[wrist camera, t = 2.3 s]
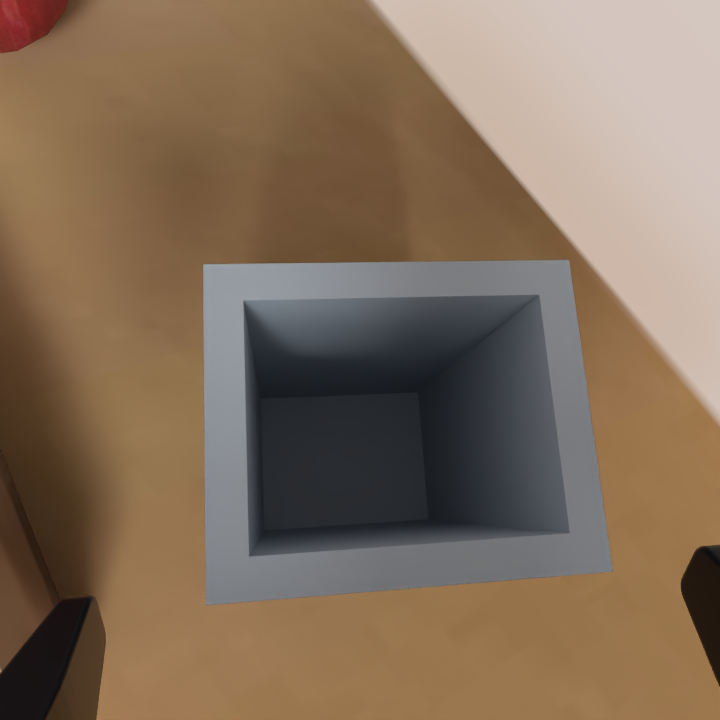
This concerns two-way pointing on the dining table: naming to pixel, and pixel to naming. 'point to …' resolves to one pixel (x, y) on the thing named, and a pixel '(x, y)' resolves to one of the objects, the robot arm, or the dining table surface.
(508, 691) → the dining table surface
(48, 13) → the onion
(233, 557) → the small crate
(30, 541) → the big crate
